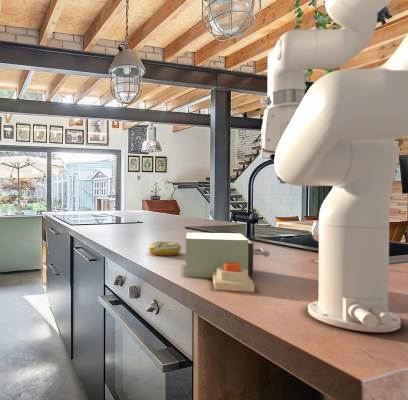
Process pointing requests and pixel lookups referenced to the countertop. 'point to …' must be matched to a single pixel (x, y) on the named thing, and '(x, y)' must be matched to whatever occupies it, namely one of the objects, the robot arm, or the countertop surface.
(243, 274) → the block
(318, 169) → the robot arm
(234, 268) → the button
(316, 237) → the wineglass
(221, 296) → the countertop surface
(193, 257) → the green drawer cabinet
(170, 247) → the decorated donut
